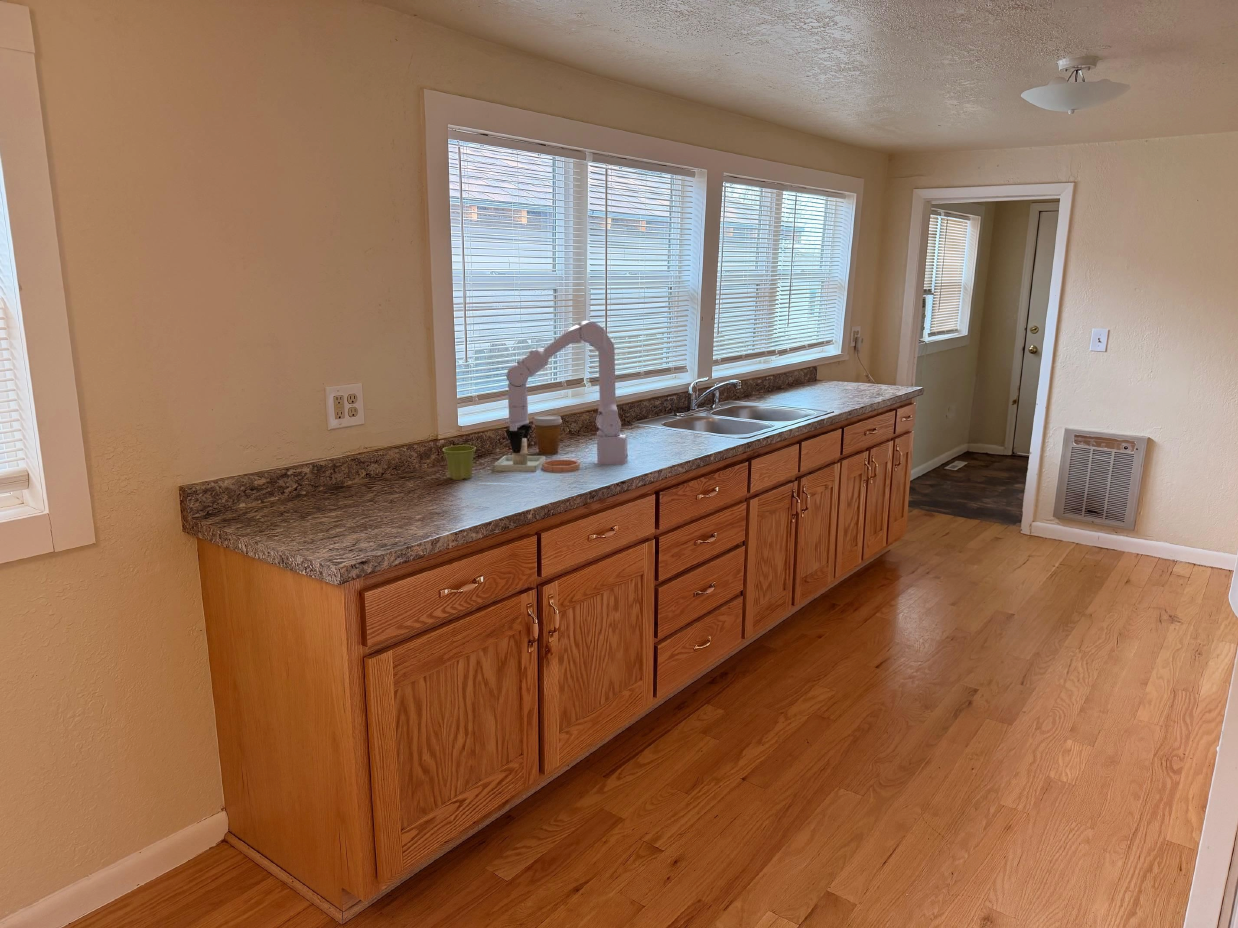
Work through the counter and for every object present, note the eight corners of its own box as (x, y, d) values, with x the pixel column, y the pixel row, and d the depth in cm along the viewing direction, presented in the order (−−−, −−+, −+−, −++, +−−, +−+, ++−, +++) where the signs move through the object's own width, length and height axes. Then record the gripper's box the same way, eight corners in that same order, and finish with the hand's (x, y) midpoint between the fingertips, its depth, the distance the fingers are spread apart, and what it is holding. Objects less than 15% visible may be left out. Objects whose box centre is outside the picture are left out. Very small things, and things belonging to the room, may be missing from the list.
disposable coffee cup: (564, 450, 285) (564, 414, 283) (560, 456, 276) (559, 419, 274) (536, 450, 286) (535, 414, 284) (531, 455, 277) (530, 419, 275)
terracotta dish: (582, 466, 261) (582, 459, 260) (576, 473, 250) (575, 467, 250) (546, 465, 262) (546, 459, 262) (539, 473, 251) (539, 466, 251)
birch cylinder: (528, 463, 261) (528, 437, 259) (525, 466, 257) (524, 440, 255) (514, 463, 262) (514, 437, 260) (511, 466, 257) (510, 440, 256)
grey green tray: (545, 463, 265) (545, 456, 265) (536, 472, 252) (536, 465, 251) (505, 462, 267) (504, 455, 267) (493, 472, 253) (493, 464, 253)
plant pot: (470, 482, 241) (468, 451, 239) (438, 480, 243) (437, 450, 241) (481, 474, 250) (480, 445, 248) (451, 473, 252) (450, 444, 250)
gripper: (510, 402, 263) (512, 445, 266) (498, 409, 249) (500, 454, 252) (533, 402, 262) (534, 446, 265) (522, 409, 248) (524, 455, 251)
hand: (519, 450), depth 258 cm, fingers open, 7 cm apart
